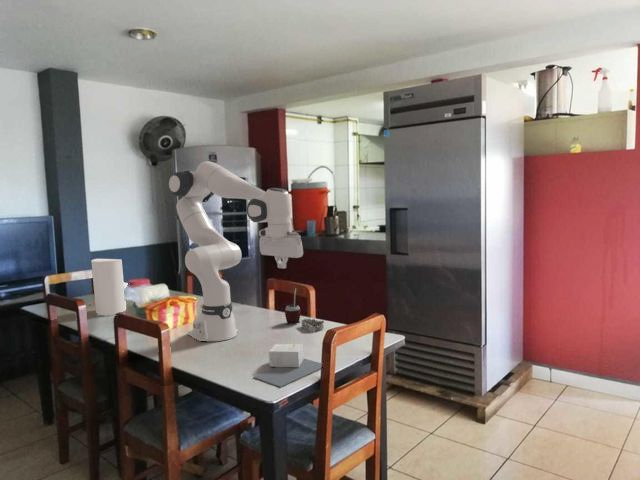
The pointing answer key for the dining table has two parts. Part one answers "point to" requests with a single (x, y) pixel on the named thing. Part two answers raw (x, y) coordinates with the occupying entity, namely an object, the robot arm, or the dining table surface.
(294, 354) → the small box
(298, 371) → the slate mat
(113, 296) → the cylinder
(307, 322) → the egg carton
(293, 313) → the mate gourd
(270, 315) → the dining table surface
